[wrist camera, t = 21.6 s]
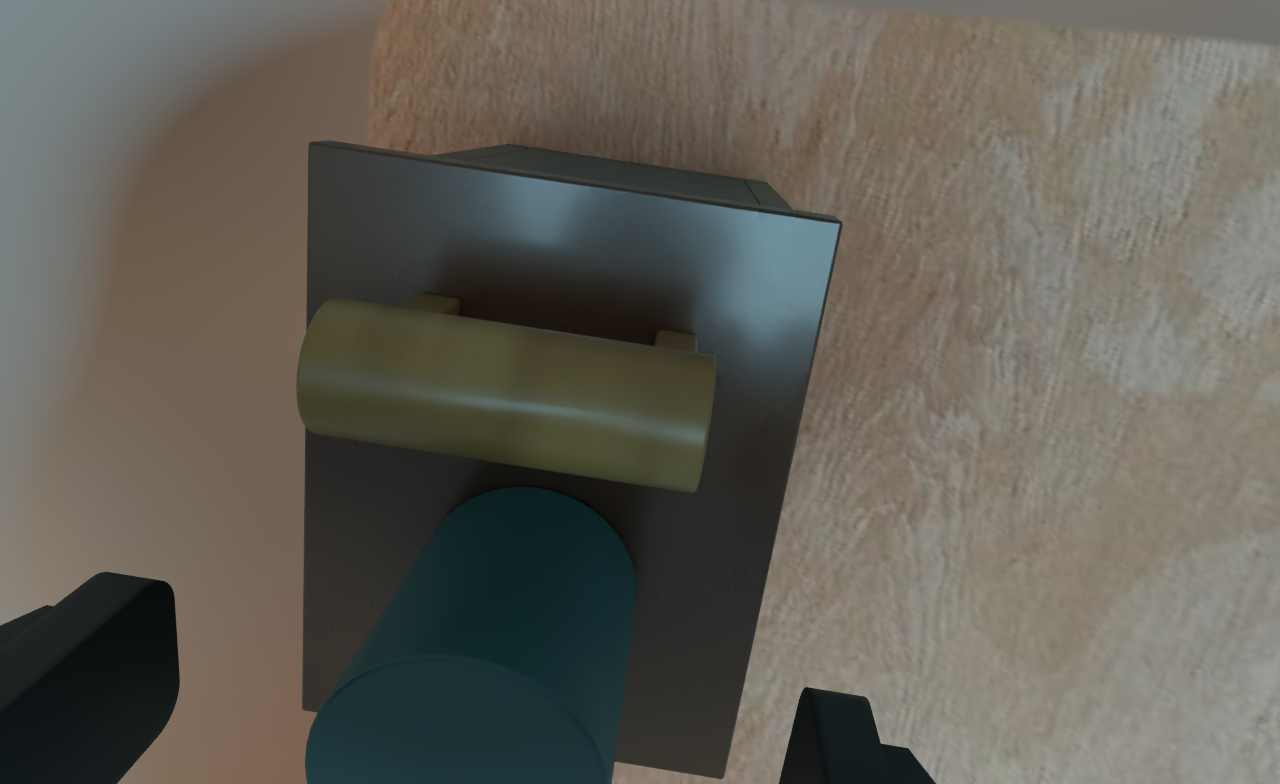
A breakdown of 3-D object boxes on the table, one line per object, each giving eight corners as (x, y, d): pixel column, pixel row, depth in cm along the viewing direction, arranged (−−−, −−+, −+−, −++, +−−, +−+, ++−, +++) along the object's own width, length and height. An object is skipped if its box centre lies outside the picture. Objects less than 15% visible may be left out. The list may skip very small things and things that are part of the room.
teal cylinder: (503, 442, 15) (409, 597, 10) (681, 572, 15) (671, 778, 10) (383, 594, 16) (247, 798, 11) (553, 710, 16) (492, 951, 12)
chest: (507, 143, 27) (327, 170, 14) (767, 182, 27) (830, 245, 14) (482, 441, 31) (319, 683, 18) (713, 477, 30) (722, 749, 17)
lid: (328, 140, 14) (137, 151, 9) (836, 215, 14) (907, 266, 9) (317, 685, 18) (177, 895, 13) (723, 751, 17) (731, 990, 13)
